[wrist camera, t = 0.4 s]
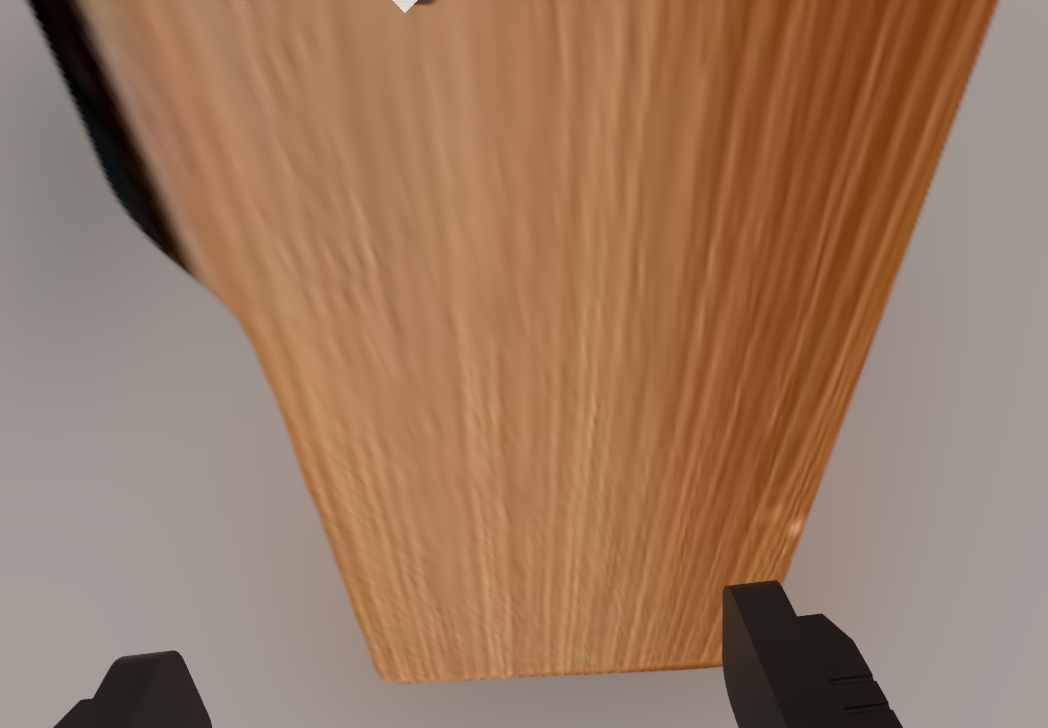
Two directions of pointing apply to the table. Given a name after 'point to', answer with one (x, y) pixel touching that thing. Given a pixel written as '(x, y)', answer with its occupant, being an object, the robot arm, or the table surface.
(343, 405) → the table surface
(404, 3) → the build plate
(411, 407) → the table surface
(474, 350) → the table surface
